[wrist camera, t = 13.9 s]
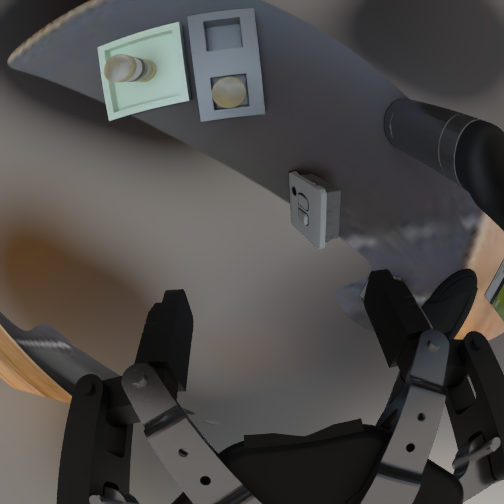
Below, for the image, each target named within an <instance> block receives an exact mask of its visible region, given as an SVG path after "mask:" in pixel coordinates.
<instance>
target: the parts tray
mask: <svg viewBox="0 0 504 504" xmlns="http://www.w3.org/2000/svg"><path fill="white" fill-rule="evenodd" d="M98 54H99V63H100V70H101V78H102V84H103V90H104V96H105V102H106V108H107V112H108V118H109V121H110V120H114V119H117V118H120V117H124V116H127V115H130V114H134V113H138V112H141V111H145V110H149V109H153V108H157V107H161V106H166V105H170V104H175V103H180V102H185V101H190V100H192V97H191V90H190V82H189V75H188V68H187V60H186V52H185V44H184V35H183V26H182V25H181V24H180V22H177V23H172V24H168V25H164V26H160V27H156V28H153V29H149V30H146V31H142V32H139V33H136V34H133V35H130V36H127V37H124V38H121V39H118V40H116V41H113V42H110V43H108V44H105V45H103V46H100V47H98ZM117 54H125V55H129V56H132V57H136V58H141V59H146V60H150V61H152V62H154V63H155V65H156V68H157V71H156V74H155V76H154V77H153V78H152V79H151V80H149V81H147V82H137V81H136V82H126V81H125V82H110V81H109V80H107V79H106V77H105V75H104V67H105V65H106V63H107V61H108V60H109V59H110V58H111V57H112V56H114V55H117Z"/></svg>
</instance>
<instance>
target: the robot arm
mask: <svg viewBox="0 0 504 504" xmlns="http://www.w3.org/2000/svg"><path fill="white" fill-rule="evenodd" d="M384 128H385V132H386V135H387V138H388V140H389V141H390V142H391V144H392V145H393V146H394V147H396V148H398V149H399V150H401V151H403V152H405V153H407V154H409V155H410V156H412V157H414V158H416V159H417V160H419V161H421V162H423V163H424V164H426V165H428V166H429V167H431V168H433V169H434V170H436V171H438V172H439V173H441V174H442V175H444V176H446V177H447V178H449V179H450V180H452V181H453V182H455V183H456V184H458V185H459V186H461V187H462V188H464V189H465V190H467V191H468V192H469V193H470V195H471V197H472V198H473V200H474V202H475V203H476V204H477V206H478V207H479V208H480V209H481V210H482V211H484V212H485V213H486V214H487V215H488V216H489V217H490V218H491V219H492V220H493V221H494V222H495V223H496V224H497V225H498V226H499V227H500V228H501V229H502V230H503V231H504V132H503V131H502V130H501V129H500V128H499V127H497V126H495V125H493V124H491V123H489V122H486V121H483V120H481V119H478V118H475V117H472V116H469V115H466V114H463V113H460V112H456V111H453V110H450V109H446V108H443V107H439V106H435V105H431V104H427V103H423V102H419V101H415V100H410V99H400V100H397V101H395V102H394V103H393V104H392V105H391V106H390V107H389V108H388V110H387V112H386V115H385V120H384ZM364 306H365V310H366V312H367V314H368V317H369V319H370V321H371V324H372V326H373V328H374V331H375V333H376V335H377V338H378V340H379V343H380V345H381V348H382V350H383V353H384V355H385V358H386V361H387V363H388V366H389V368H391V367H395V366H398V367H399V370H400V371H399V372H398V375H397V377H396V381H395V383H394V386H393V389H392V392H391V394H390V397H389V399H388V402H387V404H386V407H385V409H384V411H383V413H382V414H381V416H380V418H379V420H378V421H377V423H376V425H375V426H373V425H367V424H362V421H361V419H357V420H352V421H348V422H343V423H338V424H334V425H332V426H330V427H327V428H325V429H323V430H320V431H318V432H315V433H313V434H310V435H308V436H293V435H284V434H275V433H271V434H258V435H244V441H242V442H238V443H236V444H233V445H231V446H230V447H227V448H226V449H224V450H223V451H222V452H220V453H218V452H217V451H216V450H215V449H214V448H213V446H212V445H211V444H210V443H209V442H208V440H207V439H206V438H205V437H204V436H203V435H202V433H201V432H200V431H199V430H198V428H197V427H196V426H195V425H194V423H193V422H192V421H191V419H190V418H189V417H188V415H187V414H186V413H185V411H184V410H183V409H182V407H181V406H180V404H179V403H178V402H177V392H178V391H186V383H187V375H188V366H189V357H190V349H191V341H192V333H193V315H192V312H191V309H190V306H189V303H188V300H187V297H186V294H185V291H184V290H183V289H181V290H180V289H179V290H166V291H165V293H164V298H163V301H162V303H155V304H154V306H153V307H152V308H151V310H150V311H149V312H148V316H147V319H146V324H145V326H144V332H143V333H142V337H141V341H140V344H139V348H138V352H137V356H136V360H135V363H134V364H133V365H131V366H129V367H128V368H127V369H126V370H125V371H124V373H123V375H122V376H119V377H115V378H111V379H107V380H101V379H100V378H99V377H98V376H96V375H94V374H88V375H85V376H83V377H81V378H80V379H79V380H78V381H77V383H76V385H75V388H74V392H73V396H72V400H71V404H70V409H69V413H68V418H67V423H66V428H65V433H64V440H63V445H62V452H61V459H60V467H59V477H58V490H57V504H139V502H138V501H137V499H136V498H135V497H134V496H132V495H131V494H129V480H130V479H129V478H130V459H131V458H130V457H131V444H132V432H133V423H137V422H142V424H143V426H144V428H145V430H144V433H145V436H146V438H147V440H148V441H149V443H150V444H151V446H152V448H153V449H154V451H155V452H156V454H157V455H158V457H159V458H160V460H161V461H162V463H163V464H164V466H165V467H166V469H167V470H168V471H169V473H170V474H171V476H172V477H173V478H174V480H175V481H176V482H177V484H178V485H179V486H180V488H181V489H182V490H183V492H182V494H181V495H180V496H179V497H178V498H177V499H176V500H175V501H174V502H173V503H172V504H463V502H464V501H466V500H468V499H470V498H471V497H473V496H475V495H476V494H478V493H479V492H481V491H483V490H484V489H486V488H487V487H489V486H490V485H491V484H494V483H496V482H499V481H501V480H504V375H503V373H502V370H501V368H500V366H499V363H498V361H497V359H496V357H495V355H494V353H493V351H492V349H491V347H490V345H489V343H488V341H487V339H486V338H485V337H484V336H483V335H482V334H481V333H479V332H476V331H471V332H469V333H467V335H466V336H465V337H464V339H463V340H457V339H447V338H446V336H445V335H444V334H443V333H442V332H440V331H438V330H434V329H432V328H431V326H430V325H429V323H428V321H427V319H426V317H425V316H424V314H423V312H422V310H421V309H420V307H419V305H418V304H417V303H416V300H415V299H414V297H412V294H411V292H410V290H409V289H408V287H407V286H406V285H405V284H404V283H402V282H401V281H400V280H399V279H397V280H395V279H394V278H393V276H392V274H391V273H390V271H389V270H387V269H385V270H377V271H372V272H371V273H370V275H369V280H368V284H367V288H366V292H365V296H364ZM468 376H469V377H470V379H471V382H472V384H473V387H474V390H475V392H476V399H475V397H474V394H473V391H472V388H471V386H470V383H469V381H468V378H467V377H468ZM444 404H446V407H447V410H448V414H449V417H450V420H451V424H452V428H453V431H454V435H455V439H456V443H457V447H458V452H457V454H456V456H455V459H454V461H453V463H452V467H453V469H454V473H453V474H451V473H449V472H448V471H446V470H445V469H443V468H442V467H440V466H438V465H437V464H435V463H434V462H432V461H431V460H429V459H428V457H429V454H430V451H431V448H432V445H433V442H434V439H435V436H436V433H437V430H438V426H439V423H440V419H441V415H442V411H443V407H444Z"/></svg>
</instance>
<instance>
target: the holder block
mask: <svg viewBox="0 0 504 504" xmlns="http://www.w3.org/2000/svg"><path fill="white" fill-rule="evenodd" d="M187 18H188V27H189V35H190V44H191V52H192V60H193V68H194V75H195V83H196V90H197V97H198V104H199V111H200V118H201V122H203V121H210V120H217V119H224V118H232V117H240V116H249V115H260V114H265V106H264V96H263V86H262V76H261V66H260V57H259V48H258V39H257V31H256V22H255V14H254V8H248V9H236V10H226V11H218V12H211V13H204V14H198V15H193V16H188V17H187ZM225 77H234V78H237V79H239V80H240V81H241V82H242V83H243V84H244V86H245V89H246V95H245V98H244V100H243V101H242V102H241V103H240V104H239V105H238V106H236V107H233V108H224V107H221V106H219V105H218V104H217V103H216V102H215V101H214V99H213V97H212V89H213V86H214V85H215V83H216V82H217V81H218V80H220V79H222V78H225Z"/></svg>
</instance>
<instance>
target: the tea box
mask: <svg viewBox="0 0 504 504" xmlns="http://www.w3.org/2000/svg"><path fill="white" fill-rule="evenodd" d="M485 297H486V298H487V300H488V301H489V302H490V303H491V305H492V306H493V307H494V309H495V310H496V311H497V313H498V314H499V315H500V317H501V318H502V319H503V321H504V260H503V262H502V264H501V266H500V268H499V270H498V272H497V274H496V276H495V278H494V280H493V281H492V283H491V285H490V287H489V289H488V290H487V292H486V294H485Z"/></svg>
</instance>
